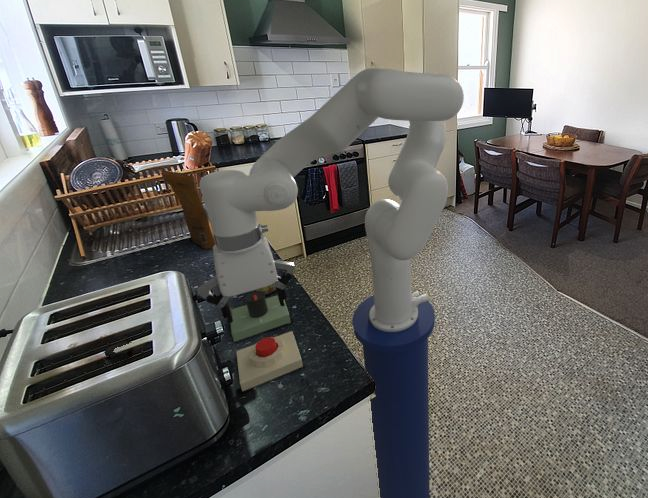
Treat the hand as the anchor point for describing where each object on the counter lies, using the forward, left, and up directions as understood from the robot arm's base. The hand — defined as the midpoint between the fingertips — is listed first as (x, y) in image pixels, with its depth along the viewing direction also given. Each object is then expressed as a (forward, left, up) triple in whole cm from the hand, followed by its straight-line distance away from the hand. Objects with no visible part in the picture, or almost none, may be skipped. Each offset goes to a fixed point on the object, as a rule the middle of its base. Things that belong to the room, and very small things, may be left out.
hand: (257, 310), depth 71 cm
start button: (0, 0, -11) cm, 11 cm away
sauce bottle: (-3, -29, -14) cm, 32 cm away
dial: (0, -16, -12) cm, 20 cm away
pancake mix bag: (+13, -72, -14) cm, 74 cm away
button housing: (0, 0, -14) cm, 14 cm away
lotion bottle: (+20, +6, -14) cm, 25 cm away
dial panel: (0, -16, -14) cm, 21 cm away
